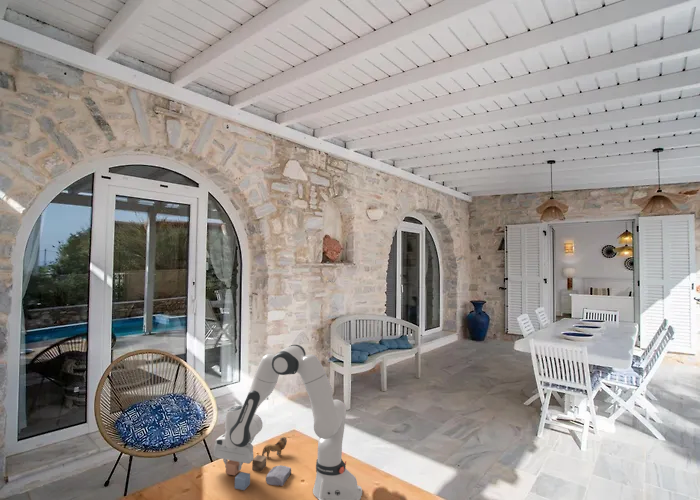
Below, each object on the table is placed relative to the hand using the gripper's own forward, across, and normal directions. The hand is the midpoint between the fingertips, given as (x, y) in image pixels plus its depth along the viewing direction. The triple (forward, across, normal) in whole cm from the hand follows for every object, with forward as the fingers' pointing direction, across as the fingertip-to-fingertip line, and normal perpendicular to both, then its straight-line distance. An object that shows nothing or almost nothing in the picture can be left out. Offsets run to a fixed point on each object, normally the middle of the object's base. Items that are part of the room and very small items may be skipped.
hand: (233, 468), depth 192 cm
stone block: (+3, -22, -3) cm, 23 cm away
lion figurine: (+2, -12, -21) cm, 24 cm away
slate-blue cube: (+2, -10, +8) cm, 13 cm away
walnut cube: (+2, -10, -8) cm, 13 cm away
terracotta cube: (+2, 0, 0) cm, 2 cm away
